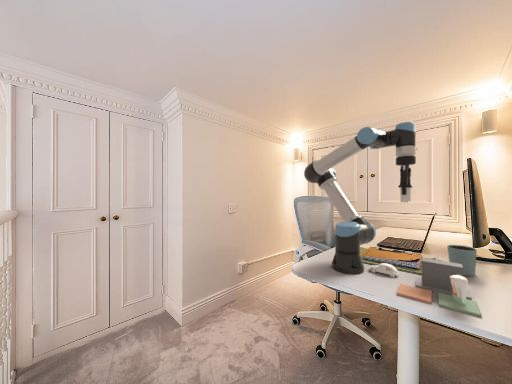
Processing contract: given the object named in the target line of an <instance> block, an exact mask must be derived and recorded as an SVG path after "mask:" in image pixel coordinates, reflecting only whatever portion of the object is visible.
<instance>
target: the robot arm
mask: <svg viewBox="0 0 512 384" xmlns="http://www.w3.org/2000/svg"><path fill="white" fill-rule="evenodd" d="M416 133H417V131H416V124H415V122H413V121H404V122H400V123H398V124H396V125H395V128H394V129H392V130H388V131H382V130H378V129H376V128H375V127H370V126H365V127H362V128H360V129H359V130H358V132H357V134H356V136H354V137H352V138H351V139H349V140H348V141H347V142H345V143H343V144H342V145H340V146H339V147H337V148H335V149H334V150H332V151H331V152H330V153H328V154H326V155H324V156H322V158H320V159H318V160H315V159H314V160H313V161H312V162H310V163H309V164H308V165H307V166H306V167H305V169H304V172H303V175H304V178H305V180H306V181H307V182H309V183H310V184H317V186H318V187H319V188H320V190H323V191H325V194H326V196H327V197H328V198H329V200H330V201H331V203H332V205H333V206H334V207H335V210H336V211H337V213H338V214H339V216H340V217H341V219H342V220H343V221H340V222H338V223H336V224H335V229H334V245H335V246H334V247H335V249H334V251H335V252H334V255H333V258H332V261H331V268H332V269H333V270H335V271H336V272H340V273H344V274H352V275H353V274H354V275H355V274H357V275H358V274H362V273H364V272H365V266H364V262H363V260H362V257H361V247H360V246H362V245H366V244H367V245H368V244H369V243H371V242H372V241H374V240H375V238H376V234H377V231H376V228H375V226H374V225H373V224H372V223H371V222H368V221H367V220H366V219H365V217H364V216H363V215H361V214H360V215H359V214H358V212H357V211H356V209H355V207H354V206H353V205H352V203H351V202H350V201H349V199H348V198H347V196H346V195H345V193H344V191H343V190H342V189H341V187H340V186H339V184H338V183H337V181H338V179H337V172H336V170H335V169H334V167H335V166H338V165H339V164H341V163H342V162H344V161H346V160H349V158H351V157H353V156H355V155H357V154H358V153H359V152H361V151H364V150H365V149H366V148H369V149H371V150H377V149H378V150H380V149H382V148H388V147H394V146H395V157H396V158H395V165H396V166H399V167H400V168H399V171H400V175H399V176H400V180H399V185H398V188H400V191H399V192H400V196H399V197H400V203H409V202H411V201H412V198H411V197H412V195H411V188H412V189H413V185H412V184H411V175H412V174H411V173H412V168H411V167H410V166H412V165H416V162H417V161H416V159H417V158H416V156H415V155H416V151H417V150H418V148H417V147H416V138H417V137H416V135H417V134H416Z"/></svg>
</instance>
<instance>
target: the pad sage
mask: <svg viewBox="0 0 512 384" xmlns="http://www.w3.org/2000/svg"><path fill="white" fill-rule="evenodd" d="M437 294H438V306H439V307H442V308H445V309H450V310H453V311H456V312H457V311H458V312H461V313H465V314H468V315H472V316H476V317H478V318H479V317H480V318H482V317H483V316H482V312H481V309H480V307H479V304H478V302H477V301H476V300H473V299H472V300H468V299H466V304H458V303H455V302H454V301H453V300H452V296H451V295H447V294H442V293H438V292H437Z"/></svg>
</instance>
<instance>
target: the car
mask: <svg viewBox="0 0 512 384" xmlns="http://www.w3.org/2000/svg"><path fill="white" fill-rule="evenodd" d="M368 270H369V271H371V273H373V274H374V273H376V272H377V273H381V274H385V275H388V276H389V277H391V278H395V277H398V275H399V274H400V271H398V269H397V268H396V267H395V266H394V265H393V264H390V263H386V262H385V263H384V262H381V263H380V264H378V265H377V264H375V265H373V264H372V265H371V266H369V268H368Z"/></svg>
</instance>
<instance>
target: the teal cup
mask: <svg viewBox="0 0 512 384" xmlns="http://www.w3.org/2000/svg"><path fill="white" fill-rule="evenodd" d="M446 248H447V253H448V262H452V263H459V264H462V266H463V276H468V277H469V276H471V277H472V276H473V277H474V276H475V275H476V266H477V264H476V263H477V252H478V251H477V248H476V247H471V246H466V245H457V244H448V245H447V247H446Z"/></svg>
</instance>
